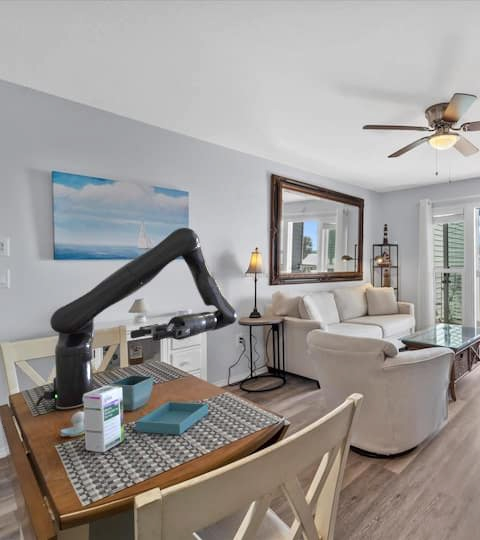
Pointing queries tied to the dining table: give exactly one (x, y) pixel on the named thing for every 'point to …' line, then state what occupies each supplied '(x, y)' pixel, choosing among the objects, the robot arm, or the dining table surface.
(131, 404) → the flower pot
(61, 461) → the dining table surface
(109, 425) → the syrup box
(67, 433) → the pacifier
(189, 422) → the tray
